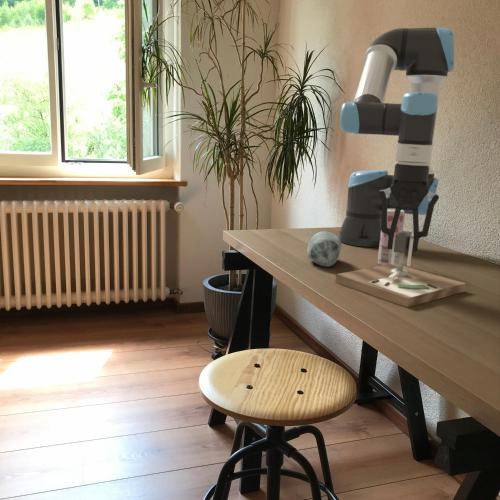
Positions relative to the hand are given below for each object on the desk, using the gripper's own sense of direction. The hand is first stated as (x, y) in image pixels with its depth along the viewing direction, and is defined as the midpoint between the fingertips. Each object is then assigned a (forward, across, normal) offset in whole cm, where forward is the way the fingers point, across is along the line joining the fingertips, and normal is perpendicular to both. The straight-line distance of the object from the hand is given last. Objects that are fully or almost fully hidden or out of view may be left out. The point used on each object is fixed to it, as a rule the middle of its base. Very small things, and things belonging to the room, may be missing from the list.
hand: (400, 263), depth 123 cm
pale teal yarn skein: (+5, -20, +12) cm, 24 cm away
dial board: (+5, 0, -3) cm, 6 cm away
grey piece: (+3, -1, -2) cm, 4 cm away
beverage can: (+5, -3, +18) cm, 19 cm away
